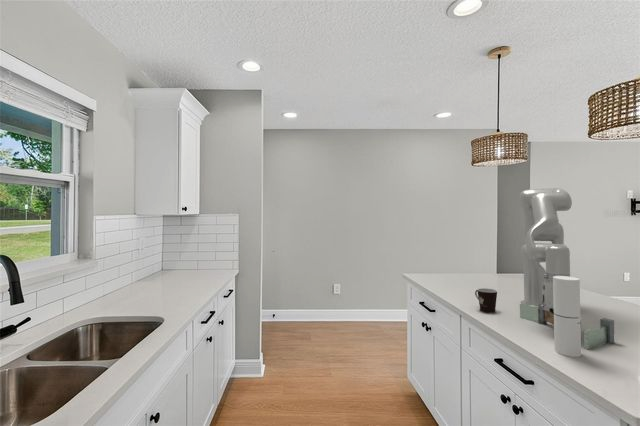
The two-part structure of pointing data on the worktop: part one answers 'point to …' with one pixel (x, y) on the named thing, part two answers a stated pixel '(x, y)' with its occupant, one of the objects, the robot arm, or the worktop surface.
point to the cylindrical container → (567, 315)
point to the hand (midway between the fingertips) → (559, 325)
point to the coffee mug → (487, 299)
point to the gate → (549, 317)
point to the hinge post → (533, 313)
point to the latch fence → (599, 334)
